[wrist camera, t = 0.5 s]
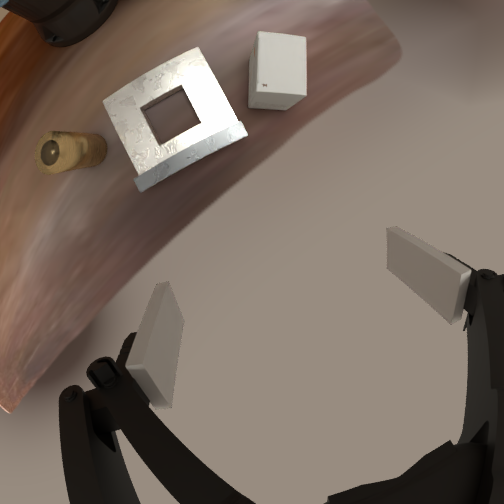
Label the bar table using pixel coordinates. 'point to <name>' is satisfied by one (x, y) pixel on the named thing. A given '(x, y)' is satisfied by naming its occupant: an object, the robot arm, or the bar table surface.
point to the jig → (186, 144)
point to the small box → (277, 71)
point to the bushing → (69, 151)
